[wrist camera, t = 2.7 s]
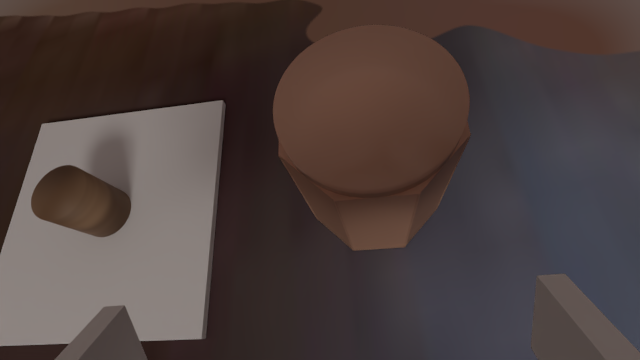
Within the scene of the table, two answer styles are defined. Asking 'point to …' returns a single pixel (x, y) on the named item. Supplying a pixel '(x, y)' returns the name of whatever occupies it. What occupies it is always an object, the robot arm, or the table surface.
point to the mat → (131, 240)
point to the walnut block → (80, 202)
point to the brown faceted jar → (372, 131)
